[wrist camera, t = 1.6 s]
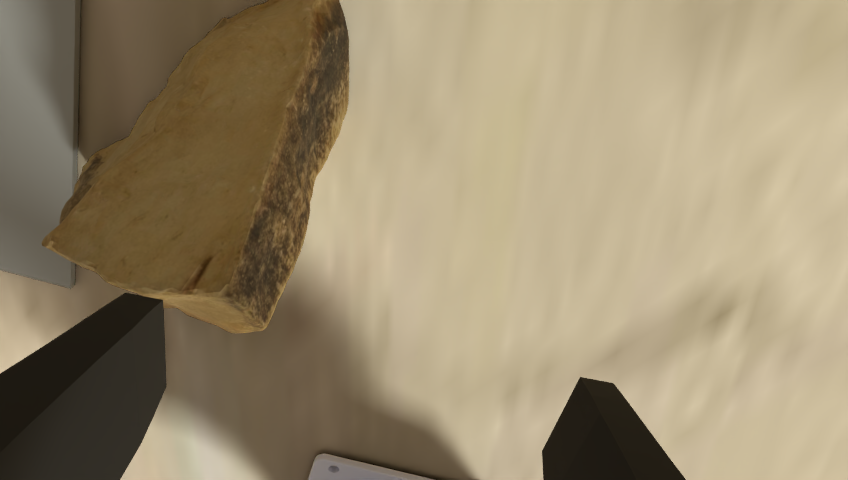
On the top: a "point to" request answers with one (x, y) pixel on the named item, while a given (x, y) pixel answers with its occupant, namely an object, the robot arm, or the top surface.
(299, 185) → the rock
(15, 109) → the mat
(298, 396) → the top surface
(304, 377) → the top surface
